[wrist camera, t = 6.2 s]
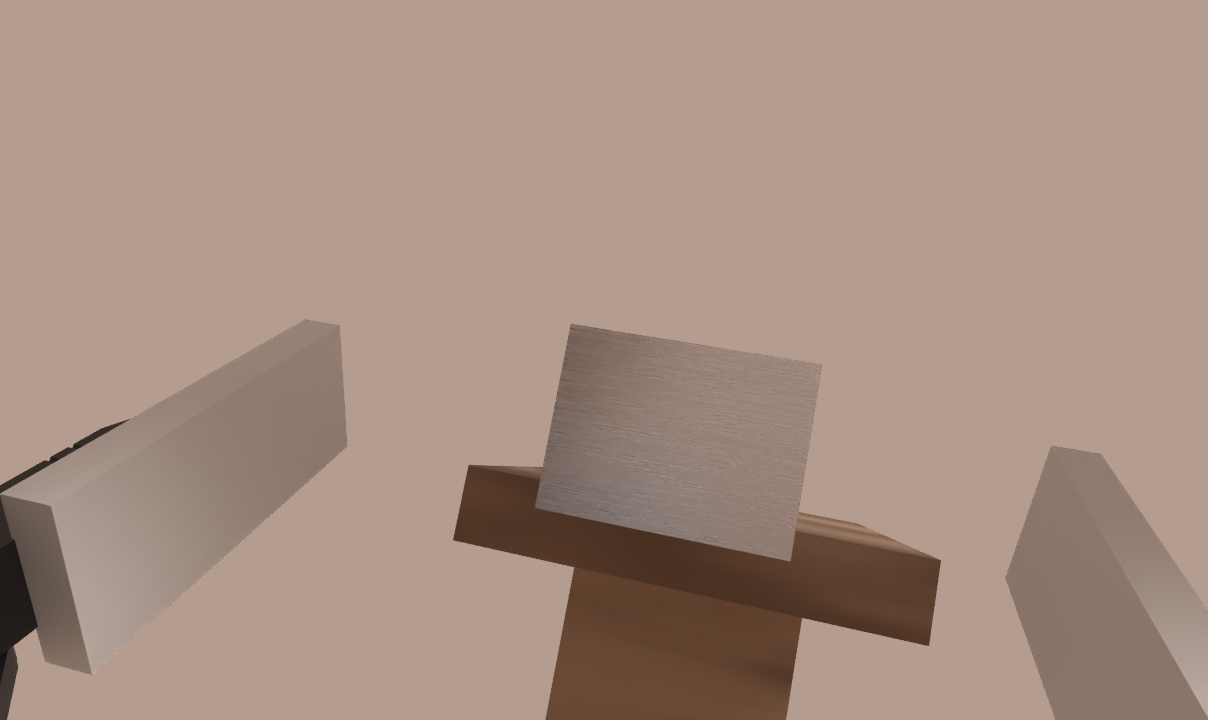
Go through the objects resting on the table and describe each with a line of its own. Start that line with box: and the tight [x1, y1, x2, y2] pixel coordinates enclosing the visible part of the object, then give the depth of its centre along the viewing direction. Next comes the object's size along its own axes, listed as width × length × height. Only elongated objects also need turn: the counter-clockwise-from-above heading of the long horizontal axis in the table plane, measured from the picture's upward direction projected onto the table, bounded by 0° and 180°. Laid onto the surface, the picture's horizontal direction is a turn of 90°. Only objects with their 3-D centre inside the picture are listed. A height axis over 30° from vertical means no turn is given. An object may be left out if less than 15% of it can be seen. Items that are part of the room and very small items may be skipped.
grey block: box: [535, 324, 822, 562], centre depth 24 cm, size 24×4×3 cm, turn 170°
